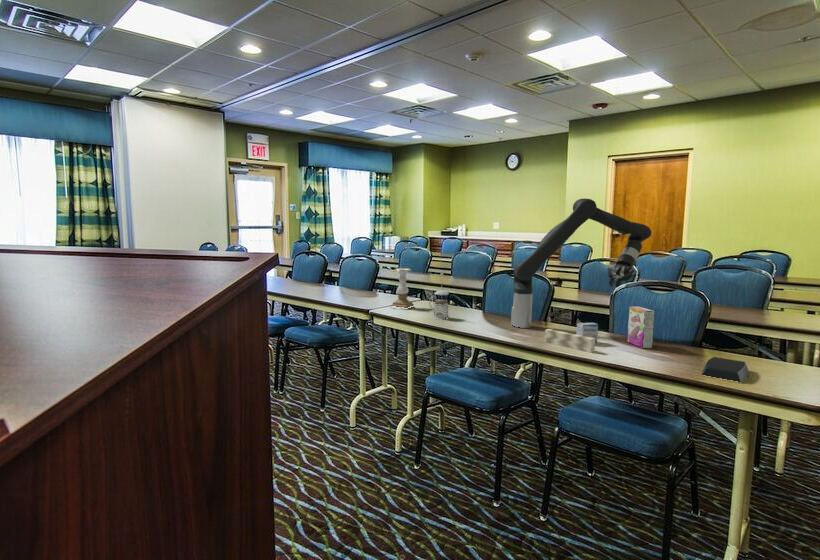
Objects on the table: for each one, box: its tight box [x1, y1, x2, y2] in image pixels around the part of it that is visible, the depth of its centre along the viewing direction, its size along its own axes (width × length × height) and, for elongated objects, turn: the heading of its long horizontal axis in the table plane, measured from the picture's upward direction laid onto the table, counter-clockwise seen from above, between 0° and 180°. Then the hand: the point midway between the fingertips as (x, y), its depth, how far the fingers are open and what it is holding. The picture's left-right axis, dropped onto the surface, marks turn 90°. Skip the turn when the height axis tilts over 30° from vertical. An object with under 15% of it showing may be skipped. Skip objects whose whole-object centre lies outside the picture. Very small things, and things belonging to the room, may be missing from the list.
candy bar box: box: [626, 305, 656, 349], centre depth 206 cm, size 11×5×16 cm, turn 9°
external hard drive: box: [701, 356, 749, 383], centre depth 169 cm, size 13×19×4 cm
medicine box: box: [576, 322, 599, 344], centre depth 211 cm, size 8×4×9 cm, turn 105°
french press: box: [428, 272, 450, 320], centre depth 260 cm, size 10×12×25 cm
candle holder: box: [390, 267, 415, 308], centre depth 290 cm, size 11×11×24 cm
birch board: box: [544, 328, 596, 353], centre depth 203 cm, size 22×3×6 cm, turn 40°
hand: (613, 285), depth 222 cm, fingers closed
